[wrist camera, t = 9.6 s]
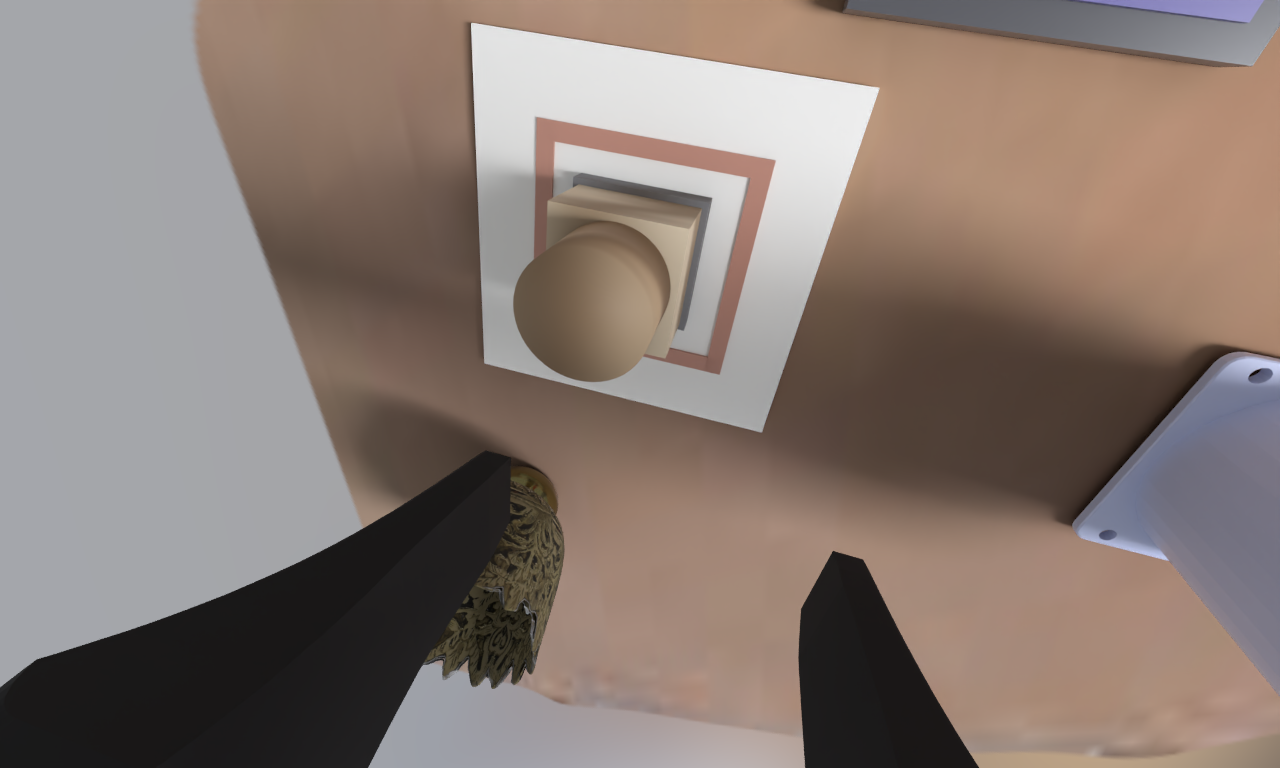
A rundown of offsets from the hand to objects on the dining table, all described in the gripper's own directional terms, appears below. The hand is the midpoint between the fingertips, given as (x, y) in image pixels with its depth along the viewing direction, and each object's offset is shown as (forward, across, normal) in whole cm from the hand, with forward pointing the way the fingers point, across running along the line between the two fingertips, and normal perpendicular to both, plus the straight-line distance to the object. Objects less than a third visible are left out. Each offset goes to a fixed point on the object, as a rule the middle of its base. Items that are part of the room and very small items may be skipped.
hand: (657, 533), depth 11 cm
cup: (+10, +7, +10) cm, 16 cm away
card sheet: (+9, +3, -3) cm, 10 cm away
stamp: (+9, +3, -3) cm, 10 cm away
